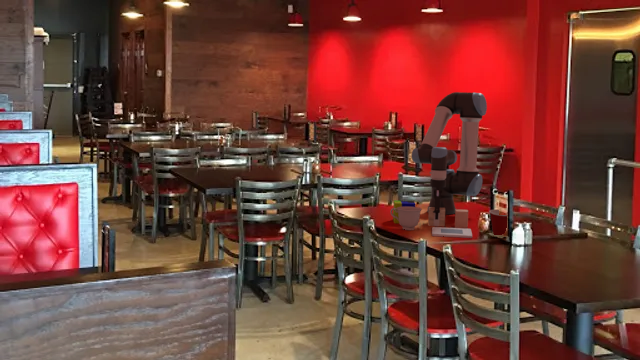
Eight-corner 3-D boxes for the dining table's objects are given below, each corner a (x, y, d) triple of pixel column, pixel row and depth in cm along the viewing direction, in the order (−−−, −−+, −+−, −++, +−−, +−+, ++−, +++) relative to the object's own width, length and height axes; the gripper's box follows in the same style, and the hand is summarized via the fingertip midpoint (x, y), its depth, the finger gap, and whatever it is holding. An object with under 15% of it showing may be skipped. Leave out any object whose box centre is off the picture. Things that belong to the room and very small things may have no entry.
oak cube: (428, 223, 404) (428, 207, 403) (444, 223, 403) (445, 207, 402) (428, 225, 396) (428, 209, 395) (444, 226, 395) (445, 210, 394)
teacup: (391, 225, 393) (392, 205, 391) (422, 227, 390) (423, 207, 388) (388, 230, 381) (389, 209, 380) (420, 232, 378) (420, 210, 377)
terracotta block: (454, 225, 399) (455, 209, 398) (467, 226, 398) (467, 209, 397) (454, 227, 393) (455, 211, 392) (467, 228, 392) (468, 211, 391)
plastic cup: (496, 240, 363) (497, 213, 361) (483, 235, 373) (484, 209, 371) (517, 239, 366) (518, 212, 365) (504, 234, 376) (505, 209, 375)
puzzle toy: (414, 223, 401) (415, 203, 399) (394, 223, 401) (395, 203, 400) (412, 220, 410) (413, 200, 409) (393, 219, 411) (393, 200, 409)
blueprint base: (432, 229, 387) (432, 226, 387) (470, 230, 384) (470, 228, 384) (432, 235, 369) (432, 233, 369) (472, 237, 367) (472, 235, 366)
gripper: (430, 176, 408) (428, 220, 411) (430, 181, 386) (428, 227, 389) (445, 176, 407) (443, 220, 410) (446, 181, 385) (444, 228, 388)
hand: (436, 224), depth 399 cm, fingers open, 9 cm apart
